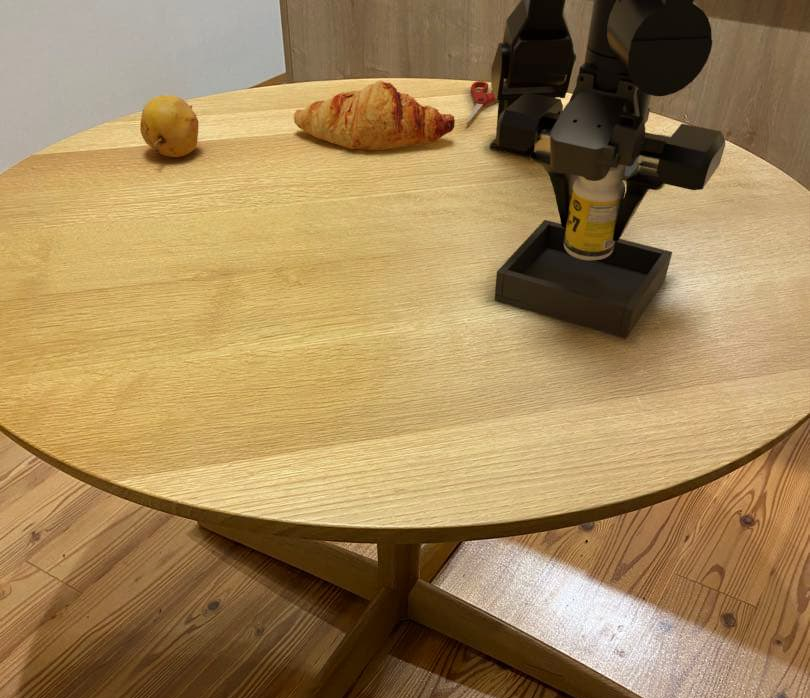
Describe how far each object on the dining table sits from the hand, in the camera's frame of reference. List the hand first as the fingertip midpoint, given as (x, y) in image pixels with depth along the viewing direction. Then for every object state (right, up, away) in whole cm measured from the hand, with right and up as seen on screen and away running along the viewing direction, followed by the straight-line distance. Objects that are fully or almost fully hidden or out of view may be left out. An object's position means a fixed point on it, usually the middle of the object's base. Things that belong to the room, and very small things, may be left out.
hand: (590, 232), depth 75 cm
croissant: (-22, +24, +29) cm, 43 cm away
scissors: (-7, +31, +35) cm, 47 cm away
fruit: (-47, +20, +26) cm, 58 cm away
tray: (0, -4, +5) cm, 6 cm away
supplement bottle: (0, -1, +1) cm, 2 cm away
